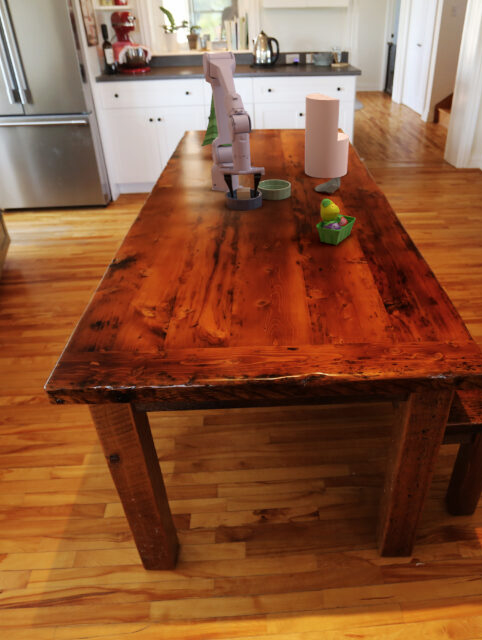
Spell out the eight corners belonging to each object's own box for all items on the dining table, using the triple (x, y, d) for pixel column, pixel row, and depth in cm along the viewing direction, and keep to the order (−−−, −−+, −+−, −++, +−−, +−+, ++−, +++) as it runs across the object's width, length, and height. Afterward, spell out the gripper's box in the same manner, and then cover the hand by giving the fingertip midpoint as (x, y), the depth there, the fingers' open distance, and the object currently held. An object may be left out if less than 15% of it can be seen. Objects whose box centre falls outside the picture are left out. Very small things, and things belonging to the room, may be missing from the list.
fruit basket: (338, 247, 138) (340, 209, 131) (310, 241, 142) (311, 203, 135) (355, 234, 146) (358, 197, 139) (329, 228, 149) (330, 192, 143)
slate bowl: (219, 208, 165) (218, 196, 162) (238, 197, 174) (237, 186, 171) (251, 214, 160) (250, 202, 158) (268, 202, 169) (268, 191, 167)
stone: (319, 200, 174) (346, 191, 173) (316, 189, 172) (343, 180, 171) (315, 193, 183) (341, 184, 182) (312, 183, 181) (338, 174, 180)
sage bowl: (251, 198, 173) (250, 187, 171) (267, 188, 182) (266, 177, 180) (281, 203, 168) (281, 191, 166) (296, 193, 177) (296, 182, 175)
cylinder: (316, 180, 190) (318, 101, 174) (297, 169, 203) (298, 94, 187) (354, 174, 196) (360, 97, 180) (334, 164, 209) (337, 91, 193)
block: (237, 206, 165) (236, 191, 162) (237, 202, 168) (236, 187, 165) (250, 206, 165) (250, 191, 162) (250, 201, 169) (249, 187, 166)
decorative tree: (199, 161, 214) (191, 85, 196) (210, 152, 226) (203, 80, 209) (229, 162, 212) (224, 85, 194) (238, 153, 224) (234, 80, 207)
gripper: (218, 158, 154) (221, 201, 161) (264, 157, 154) (265, 199, 162) (219, 153, 159) (222, 194, 167) (263, 152, 160) (264, 193, 168)
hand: (243, 196), depth 165 cm, fingers open, 7 cm apart
